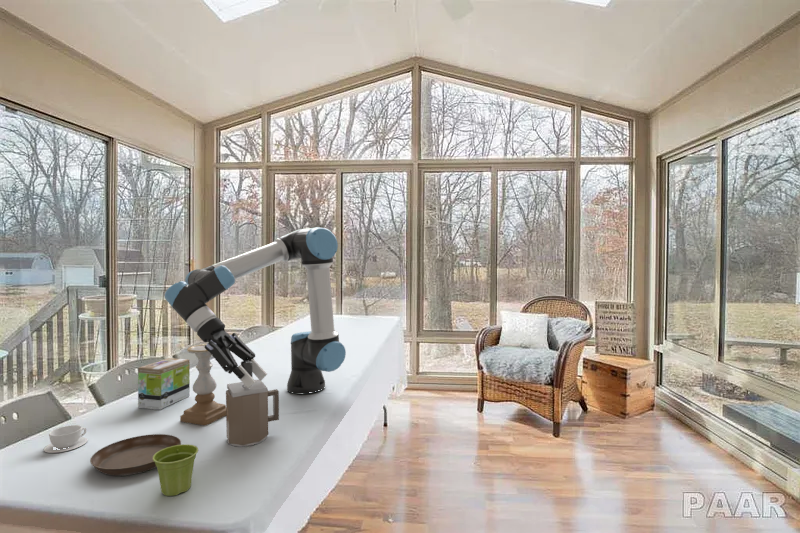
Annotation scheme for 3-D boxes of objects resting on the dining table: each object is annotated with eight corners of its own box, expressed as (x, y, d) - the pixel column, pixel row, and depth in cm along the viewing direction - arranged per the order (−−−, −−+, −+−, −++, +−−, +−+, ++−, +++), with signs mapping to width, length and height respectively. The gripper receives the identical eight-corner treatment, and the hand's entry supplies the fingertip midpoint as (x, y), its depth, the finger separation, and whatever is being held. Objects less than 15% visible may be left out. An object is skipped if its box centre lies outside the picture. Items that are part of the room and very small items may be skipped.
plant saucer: (146, 439, 128) (146, 428, 128) (198, 451, 120) (198, 439, 120) (71, 472, 109) (71, 459, 109) (127, 489, 101) (126, 475, 101)
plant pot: (164, 479, 105) (164, 444, 105) (204, 477, 106) (204, 443, 106) (145, 501, 96) (144, 463, 95) (189, 499, 97) (188, 461, 96)
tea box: (161, 410, 151) (161, 368, 150) (137, 408, 153) (136, 367, 152) (190, 396, 166) (190, 358, 165) (168, 394, 168) (167, 357, 167)
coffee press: (273, 425, 138) (273, 376, 137) (283, 438, 128) (282, 386, 127) (224, 435, 130) (223, 383, 130) (231, 450, 121) (230, 394, 120)
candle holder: (229, 413, 148) (228, 344, 147) (205, 425, 137) (204, 351, 136) (204, 409, 151) (203, 342, 150) (179, 421, 141) (177, 349, 140)
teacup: (52, 457, 117) (52, 440, 117) (37, 448, 122) (37, 432, 122) (94, 443, 125) (93, 427, 125) (78, 436, 130) (78, 420, 130)
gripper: (217, 327, 139) (265, 379, 137) (177, 340, 120) (231, 400, 118) (232, 311, 138) (280, 363, 136) (194, 321, 119) (249, 382, 117)
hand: (257, 380), depth 127 cm, fingers open, 7 cm apart
